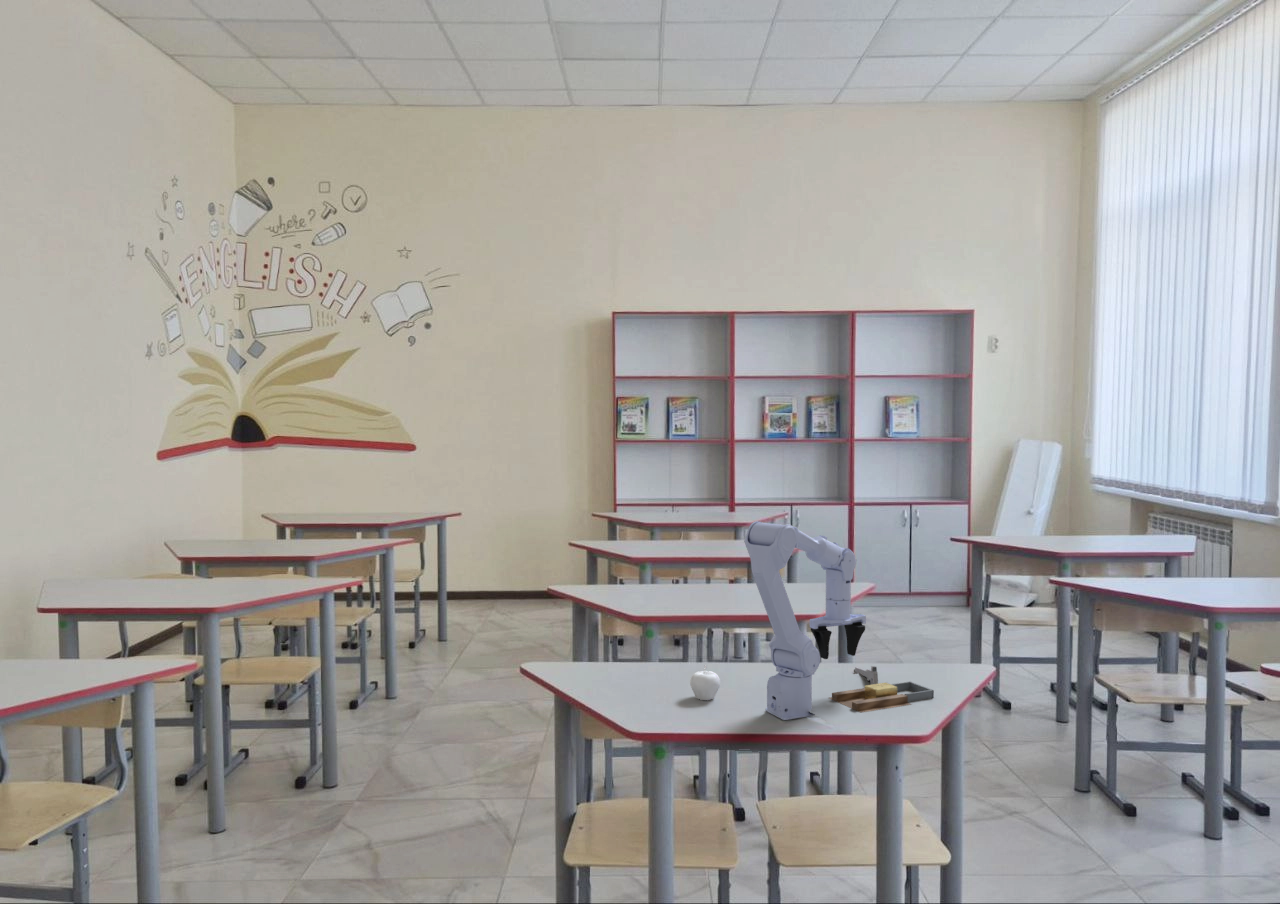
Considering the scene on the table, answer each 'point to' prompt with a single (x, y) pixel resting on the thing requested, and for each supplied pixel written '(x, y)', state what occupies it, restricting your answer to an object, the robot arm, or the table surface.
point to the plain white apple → (705, 684)
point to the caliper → (868, 674)
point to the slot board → (868, 700)
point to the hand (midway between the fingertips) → (837, 656)
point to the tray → (919, 690)
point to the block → (879, 690)
